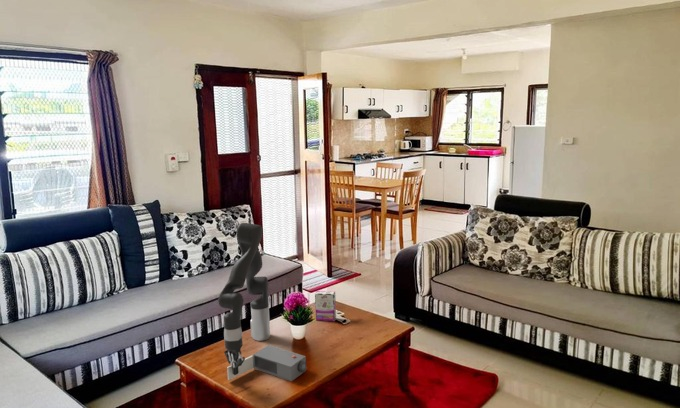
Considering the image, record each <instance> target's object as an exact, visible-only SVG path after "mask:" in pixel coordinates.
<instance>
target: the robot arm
mask: <svg viewBox="0 0 680 408" xmlns="http://www.w3.org/2000/svg"><path fill="white" fill-rule="evenodd" d="M263 230H264V229H263V227H262V225H259V224H255V223H249V222H241V223H239V224H238V226H237V228H236V240H237V243H238V246H239V249H240V253H241V257H240V258H239V259H238V260H237V261H236V262H235V263H234V264H233V266H232V268H231V270H230V274H229V278H228V280H227V282H226V284H225V286H224V287H223V289H222V290H221V292H220V294H219V296H218V305H219V306H220V308H223V309H229V310H230V309H231V310H232V311H231V312H226V313H225V314H224V315H223V328H224V329H223V337H224V338H223V339H224V348H225V349H226V350H224V351H223V352H224V356H225V357H226V360H227V362H228V364H230V366H232V374H234V375H237V374H238V372H239V371H238V367H239V366H241V365H242V363H243V362H244V360H245V359H246V358H245V356H242V351H241V349H242V348H243V331H242V323H241V321H242V320H241V318H242V317H241V316H242V311H243V306H244V297H243V295H242V294H241V293H240V292H235V291H236V290H239V289H242V288H244V286H245V284H246V291H247V293H248V294H249V295H252V296H258V295H259V297H257V298H254V299H253V300H252V301H251V302H250V312H251V314H250V316H251V319H250V320H249V321H250V322H249V323H250V336H251V337H250V338H252V339H253V340H254V341H258V342H260V341H261V342H262V341H263V342H264V341H265V340H269V339H270V338H271V327H270V305H269V280H268V277H267V276H256V275H258V274H259V272H260V271H261V270H262V269H263V258H262V254H261V252H260V251H259V250H258V248H259V246H260V243H261V241H262V238H263ZM245 282H246V283H245Z"/></svg>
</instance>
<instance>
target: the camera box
mask: <svg viewBox="0 0 680 408" xmlns="http://www.w3.org/2000/svg"><path fill="white" fill-rule="evenodd" d="M252 355H254V365H255V368H253V369H255V370H257V371H259V372H263V373H266V374H268V375H272V376H274V377H278V378H279V379H283V380H286V381H288V382H293V381H295V379H297V378H298V377H299V376H301V375H302V374H303V373H305V372H306V371H307V366H308V365H307V357H306V355H303V354H300V353H296V352H293V351H290V350H287V349H283V348H280V347H276V346H273V345H270V344H268V345H266V346H264V347H263V348H261V349H260V350H258V351H257V352H255V353H253V354H252Z"/></svg>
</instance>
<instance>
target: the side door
mask: <svg viewBox="0 0 680 408" xmlns="http://www.w3.org/2000/svg"><path fill="white" fill-rule="evenodd" d="M254 368H255V365H254V355H253V354H251V355H249V356H248V357H246V358H245V360H244V362H243V363H242V365H241V366H239V367H238V371H239V372H238V374H237V375H234V374H232V366H231V365H229V366H227V367H226V370H227V371H226V372H227V373H226V374H227V381H230V380H232V379H234V378H237V377H239V376H241V375H242V374H244V373H246V372H248V371H251V370H253V369H254Z"/></svg>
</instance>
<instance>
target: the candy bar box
mask: <svg viewBox="0 0 680 408" xmlns="http://www.w3.org/2000/svg"><path fill="white" fill-rule="evenodd" d="M336 299H337V298H336V291H331V290H330V291H328V290H316V291H315V293H314V302H315V303H314V304H315V321H316V322H318V321H319V322H335V321H336V319H337V308H336V307H337V306H336V305H337V304H336V302H337V301H336ZM335 318H336V319H335Z"/></svg>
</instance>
